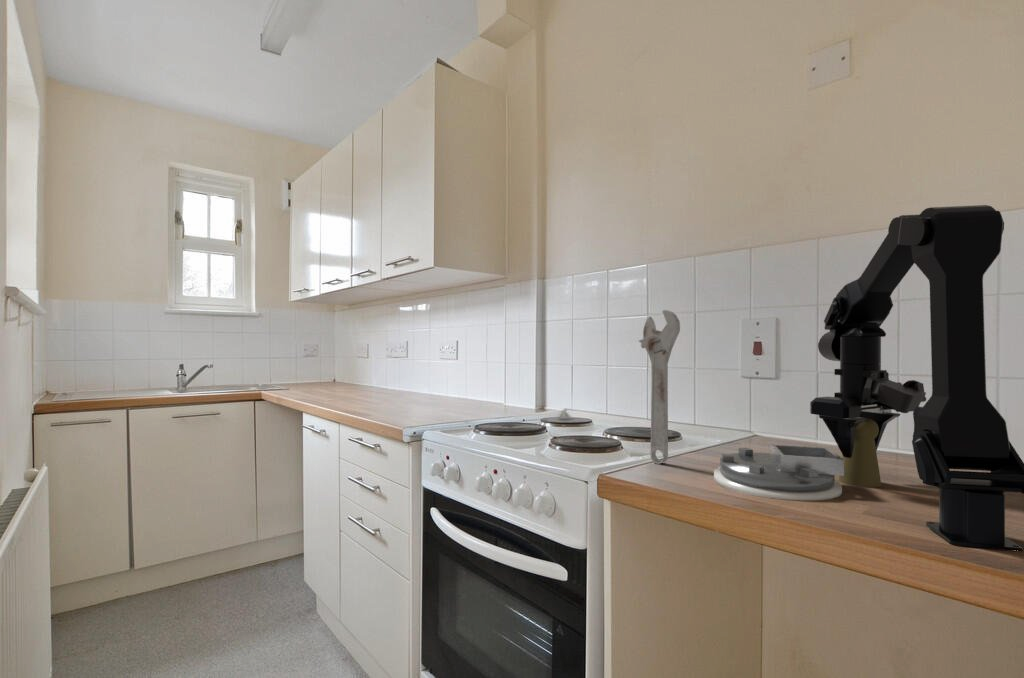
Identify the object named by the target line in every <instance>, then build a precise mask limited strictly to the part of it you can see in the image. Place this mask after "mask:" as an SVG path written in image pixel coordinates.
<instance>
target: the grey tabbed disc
mask: <svg viewBox="0 0 1024 678" xmlns="http://www.w3.org/2000/svg"><path fill="white" fill-rule="evenodd" d="M769 445H770V446H769V447H770V453H769V452H768V453H767V452H754V450H753V449H752V448H749V447H738V453H737V452H736V453H731V454H729V453H728V454H727V453H721V456H720V459H719V467H720V473H721V474H722V475H723V476H725V477H726V478H728V479H731V480H733V481H736V482H739V483H742V484H746V485H750V486H754V487H760V488H765V489H772V490H780V491H792V492H814V491H823V490H827V489H830V488H832V487H833V486H834V481H835V480H836V479H835V478H836V477H835V476H839V475H840V476H844V459H842V456H840V455H838V454H837V453H835V452H834V451H832V450H831V449H830V448H829V447H823V446H821V447H820V446H809V445H808V446H807V445H805V446H804V445H791V444H790V445H788V444H775V443H772V444H771V443H770V444H769Z"/></svg>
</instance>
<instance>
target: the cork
mask: <svg viewBox="0 0 1024 678" xmlns="http://www.w3.org/2000/svg"><path fill="white" fill-rule="evenodd" d="M858 418H861V417H858ZM862 419H865V420H864V421H863V422H862V423H861V424H859V425H858V426H857V427H856V431H855V439H854V446H853V452H852V457H851V458H846V457H844V456H843V455H842V454H841V455H842V456H841V458H842V459H844V476H840V475H838V482H839V483H842V484H846V485H849V486H853V487H857V488H880V487H882V482H881V481H882V480H881V473H880V468H879V467H880V466H879V461H878V454H877V453H878V452H877V451H876V446H875V440H874V439H875V438H876V437H877V436H878V432H879V428H878V425H877V423H876V422H875V421H873V420H871V419H867V418H862Z"/></svg>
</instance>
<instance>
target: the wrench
mask: <svg viewBox="0 0 1024 678" xmlns="http://www.w3.org/2000/svg"><path fill="white" fill-rule="evenodd" d="M662 314H663V316H664V320H665V321H666V324H665V325H664V327H663V329H662V330H658V329H657V328H656V327H657V326H656V324H655V320H654V319H653V317H652V316H648V317H646V319H645V322H644V325H643V329H642V339H640V340H638V342H639V343H640V347H641V348H642V349H645V351H646V352H647V354H648V357H649V361H650V363H651V364H650V365H651V367H650V368H651V386H650V388H651V389H650V390H651V393H650V395H651V396H650V400H651V401H650V402H651V403H650V453H649V455H650V459H651V461H652V462H653V463H655V464H657V465H658V464H659V465H660V464H662V463H665V462H667V461H668V458H669V408H668V407H669V402H668V401H669V390H668V388H669V387H668V386H669V383H668V382H669V381H668V380H669V379H668V376H669V375H668V373H669V372H668V371H669V369H668V368H669V367H668V365H669V362H670V361H669V360H670V357H671V355H672V352H673V351H672V350H673V347H674V345H675V343H676V340H677V338H678V337H679V334H680V331H681V324H680V323H681V322H680V320H679V318H678V316H677V314H675V313H674V312H673V311H671V310H668V309H664V310H662ZM657 451H660V452H661V454H662V460H660V459H659V458H657V455H656V452H657Z"/></svg>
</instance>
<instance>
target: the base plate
mask: <svg viewBox="0 0 1024 678" xmlns="http://www.w3.org/2000/svg"><path fill="white" fill-rule="evenodd" d="M713 480H714V481H715V483H717V484H718V486H719V485H720V486H721V487H722V488H725V489H727V490H729V491H733V492H736V493H741V494H745V495H748V496H749V495H751V496H756V497H760V498H767V499H774V500H775V499H777V500H787V501H823V500H824V501H825V500H831V499H835V498H838V497H840V496H841V495H842V493H843V486H842V484H841V482H840V481H837V480H836V479H835V481H834V486H833V487H832V488H830V489H827V490H823V491H814V492H792V491H780V490H772V489H765V488H760V487H754V486H750V485H746V484H742V483H739V482H736V481H733V480H731V479H728V478H726V477H725V476H723V475H722V474H721V473H720V466H718V467H716V468H715V469H714V471H713Z"/></svg>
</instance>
